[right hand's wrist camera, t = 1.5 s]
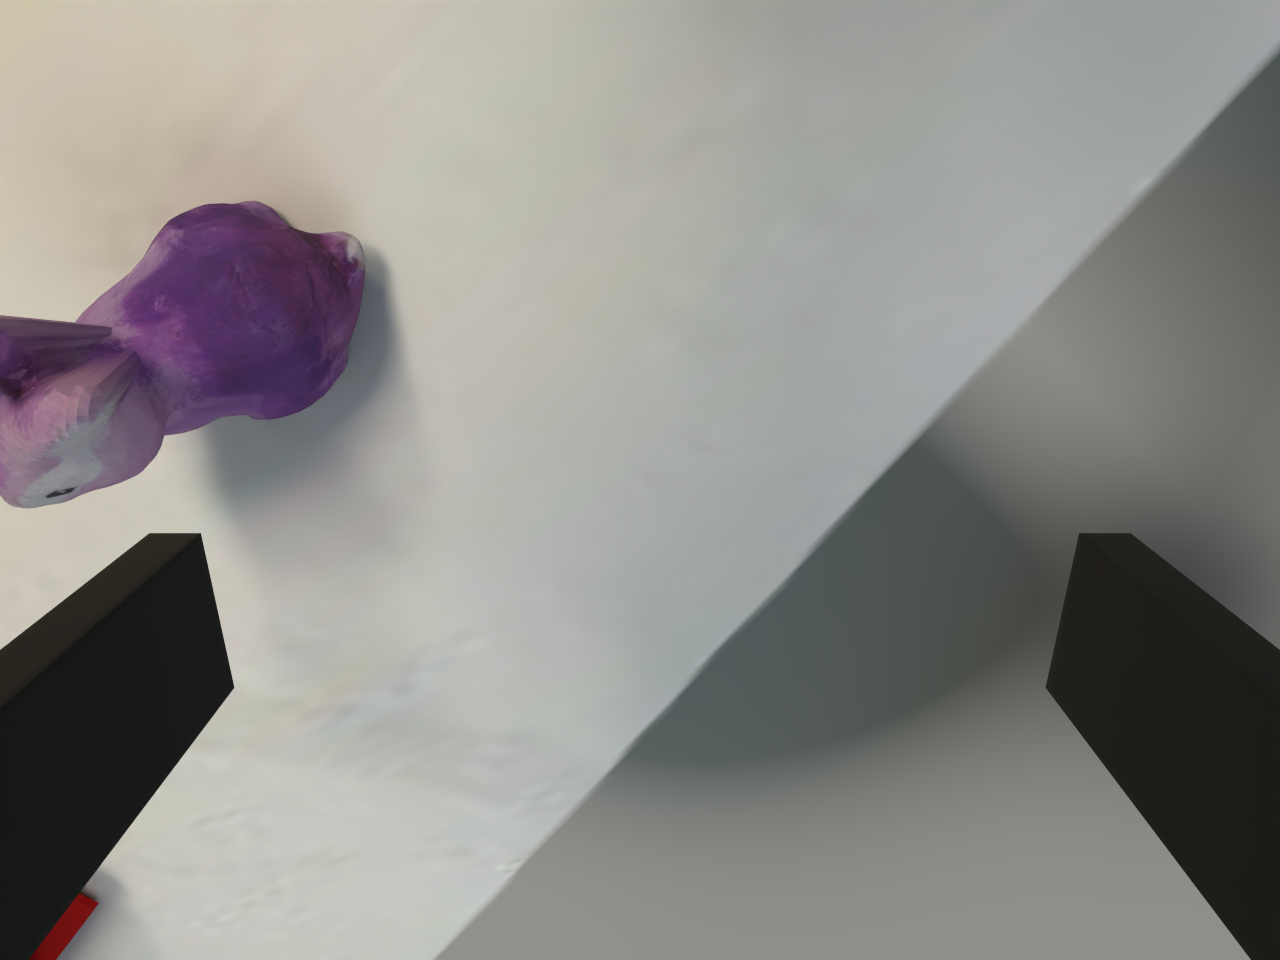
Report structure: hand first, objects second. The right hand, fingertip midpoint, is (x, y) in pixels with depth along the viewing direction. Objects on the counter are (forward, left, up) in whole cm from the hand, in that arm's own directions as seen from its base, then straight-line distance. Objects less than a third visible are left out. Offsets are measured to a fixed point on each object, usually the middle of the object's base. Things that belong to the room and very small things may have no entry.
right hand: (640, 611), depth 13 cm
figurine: (0, -16, -24) cm, 29 cm away
